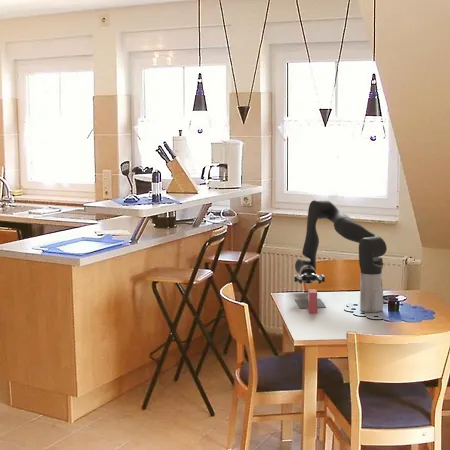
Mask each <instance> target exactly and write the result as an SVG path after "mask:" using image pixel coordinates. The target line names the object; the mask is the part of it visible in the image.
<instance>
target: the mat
mask: <svg viewBox="0 0 450 450" xmlns="http://www.w3.org/2000/svg"><path fill="white" fill-rule="evenodd" d="M294 301H295V302H296V304H297V306H298V307H299V309H308V298H299V299H298V298H297V299H294ZM324 308H325V309H326V308H327V306H326V304H325V303H324V302H323V301H322V299H321V298H317V309H324Z"/></svg>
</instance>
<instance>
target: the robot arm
mask: <svg viewBox="0 0 450 450" xmlns="http://www.w3.org/2000/svg"><path fill="white" fill-rule="evenodd" d="M321 219H322V220H323V219H324V220H329V221H330V222H331V223H333V227H334V230H335V232H336V233H337V234H338V235H340V236H341V237H342V238H344V239H346V240H348V241H351V242H355V243H358V264H359V269H360V286H359V288H360V290H359V292H360V293H359V294H360V296H359V309H360V311H361V312H365V313H379V312H382V311H383V310H384V308H383V307H384V290H383V288H382V289H381V272H382V270H383V268H382V269H381V266H379V265H376V264H374V263H373V258H374V257H382V256H384V255H385V254H386V253H387V250H388V247H387V243H386V242H385V240H384V239H383V238H382V237H380V236H379V235H377V234H375V233H373V232H371V231H370V230H368V229H366V228H365V227H364V226H362V225H361V224H359V223H358V222H357V221H355V219H353V218H351V217H350V216H348V215H347V214H346V213H344V212H342V211H341V210H340V209H339V208H338V207H337V206H336V205H335V204H334V203H332V202H331V201H330V200H329V199H328V200H327V199H314V200H311V201H310V203H309V206H308V211H307V220H306V221H307V222H306V232H305V233H306V234H305V239H304V244H303V248H302V250H301V251H302V252H301V254H302V255H303V256H304V257H306V258H308V259H305V258H298V259H297V260H296V261H295V264H294V269H295V271H296V272H297V273H294V275H293V276H294V277H293V278H294V280H293V281H294V283H297V282H298V283H299V284H301V285H302V283H305V284H312V283H317V284H319V285H320V284H321V283H325V282H326V281H325V278H326V277H325V274H323V273H321V274H320V275H318V274H317V272H316V270H317V261H316V259H317V252H318V249H319V243H320V241H319V239H320V238H319V234H318V231H317V227H316V226H317V221H318V220H321Z"/></svg>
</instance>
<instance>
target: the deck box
mask: <svg viewBox="0 0 450 450" xmlns="http://www.w3.org/2000/svg"><path fill="white" fill-rule="evenodd" d="M307 290H308V291H307V292H308V293H307V295H308V296H307V299H308V308H307V311H308V314H309V315H310V314H318V308H317V299H318V291H317V289H316V288H315V289H311V288H310V289H309V288H308V289H307Z"/></svg>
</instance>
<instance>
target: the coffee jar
mask: <svg viewBox="0 0 450 450" xmlns="http://www.w3.org/2000/svg"><path fill="white" fill-rule="evenodd" d="M373 263H374V264H376V265H379V266H381V269H382V270H383V268H384V267H383V266H384V260H383V258H382V256H380V257H374V258H373ZM382 275H383V274H382V272H381V289H382V290H383V279H382V277H383V276H382Z"/></svg>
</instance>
